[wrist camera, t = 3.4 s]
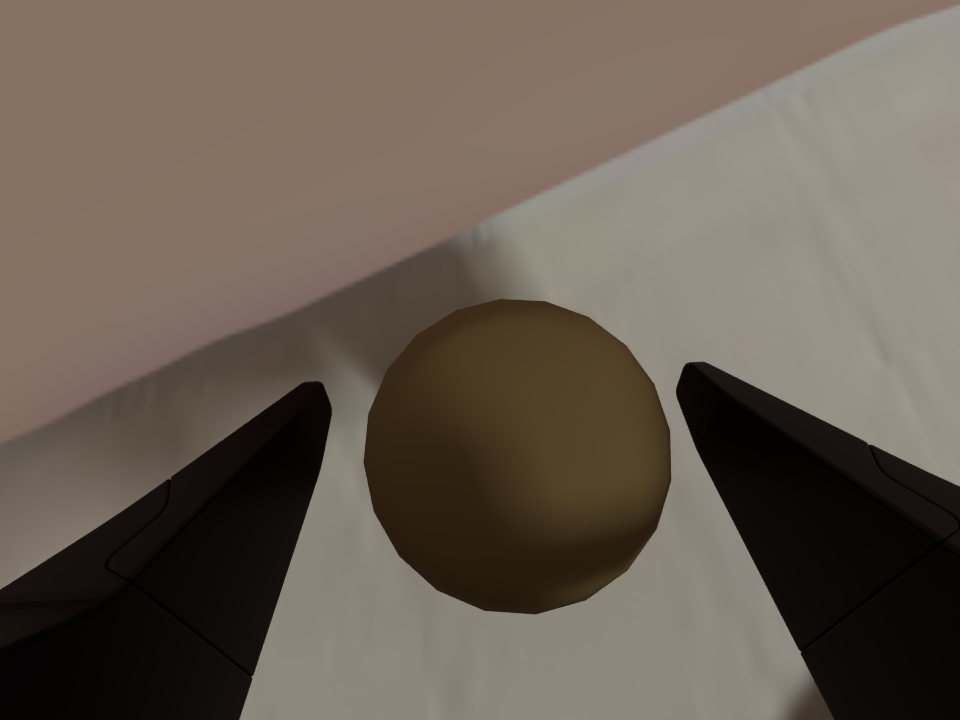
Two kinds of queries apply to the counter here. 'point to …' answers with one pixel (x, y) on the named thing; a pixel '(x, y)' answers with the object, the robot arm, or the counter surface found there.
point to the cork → (517, 456)
